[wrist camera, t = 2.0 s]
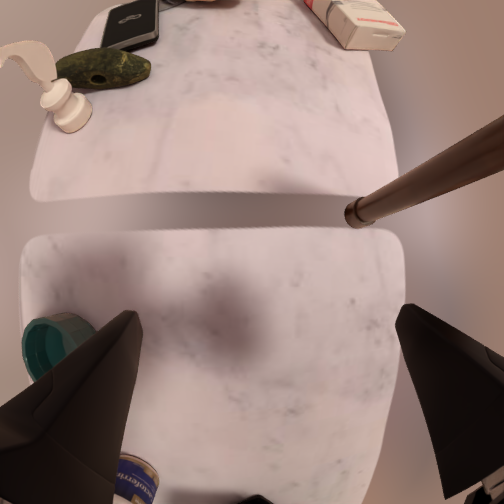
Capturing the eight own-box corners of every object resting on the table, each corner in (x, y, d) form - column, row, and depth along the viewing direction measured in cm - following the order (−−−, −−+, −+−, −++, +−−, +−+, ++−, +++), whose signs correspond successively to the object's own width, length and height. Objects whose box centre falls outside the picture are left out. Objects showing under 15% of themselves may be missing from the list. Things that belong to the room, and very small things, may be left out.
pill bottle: (169, 474, 20) (150, 539, 10) (145, 494, 20) (124, 550, 10) (123, 444, 20) (86, 503, 10) (103, 466, 20) (69, 518, 10)
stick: (372, 218, 23) (543, 148, 5) (354, 234, 23) (536, 171, 5) (357, 197, 23) (515, 97, 5) (339, 211, 23) (505, 112, 5)
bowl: (121, 366, 21) (102, 382, 17) (75, 398, 20) (56, 414, 16) (74, 297, 21) (50, 300, 17) (35, 336, 20) (11, 343, 16)
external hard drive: (159, 4, 24) (157, -6, 22) (159, 43, 23) (156, 32, 21) (113, 18, 23) (109, 9, 21) (104, 62, 22) (98, 51, 20)
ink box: (301, 2, 25) (342, 51, 25) (307, -23, 20) (355, 25, 20) (351, 4, 26) (393, 53, 25) (360, -17, 21) (409, 32, 20)
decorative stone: (158, 61, 23) (148, 32, 18) (149, 87, 23) (137, 58, 18) (71, 76, 22) (55, 54, 18) (60, 101, 22) (41, 80, 17)
